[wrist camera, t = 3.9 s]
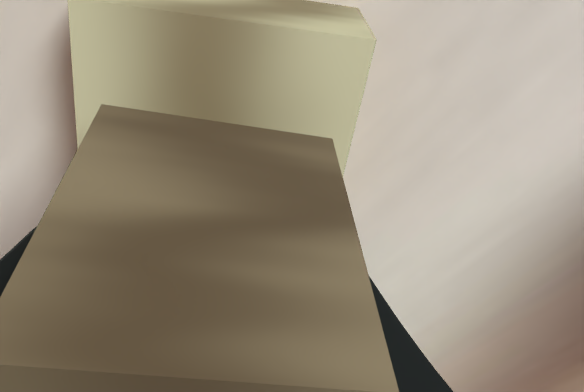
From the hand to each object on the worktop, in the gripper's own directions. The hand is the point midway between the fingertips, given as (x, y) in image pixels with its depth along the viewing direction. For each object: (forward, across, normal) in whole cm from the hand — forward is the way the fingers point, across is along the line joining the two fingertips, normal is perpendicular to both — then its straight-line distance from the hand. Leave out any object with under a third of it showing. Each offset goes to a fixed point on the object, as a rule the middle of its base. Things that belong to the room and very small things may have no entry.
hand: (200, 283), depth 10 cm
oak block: (+8, 0, 0) cm, 8 cm away
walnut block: (+2, 0, 0) cm, 2 cm away
